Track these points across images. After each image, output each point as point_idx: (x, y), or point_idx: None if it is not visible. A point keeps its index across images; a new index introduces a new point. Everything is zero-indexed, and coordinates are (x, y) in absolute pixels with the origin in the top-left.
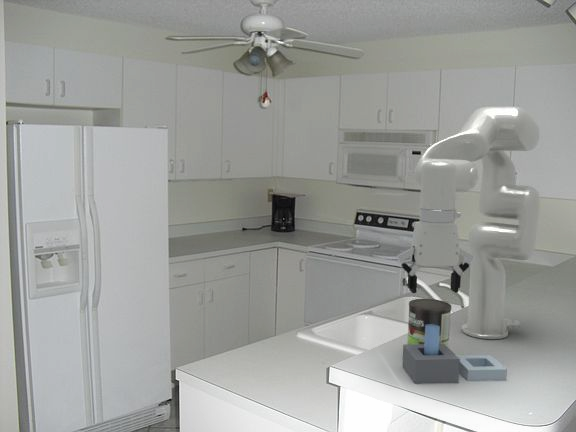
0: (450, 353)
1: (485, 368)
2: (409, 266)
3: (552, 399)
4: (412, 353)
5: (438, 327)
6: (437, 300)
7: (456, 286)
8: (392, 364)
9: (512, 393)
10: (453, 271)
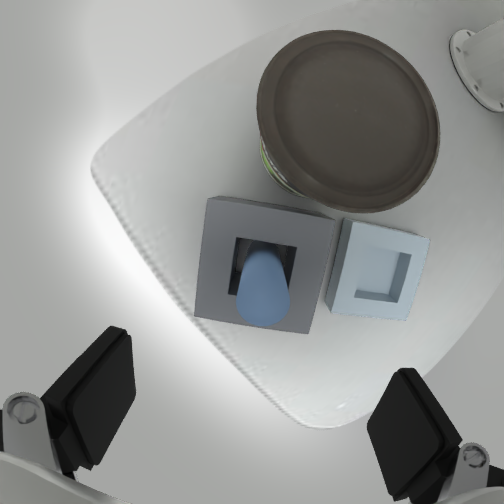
0: (308, 296)
1: (371, 310)
2: (7, 441)
3: None
4: (202, 274)
5: (278, 318)
6: (412, 77)
7: (378, 451)
8: (207, 164)
9: (369, 352)
10: (437, 476)
